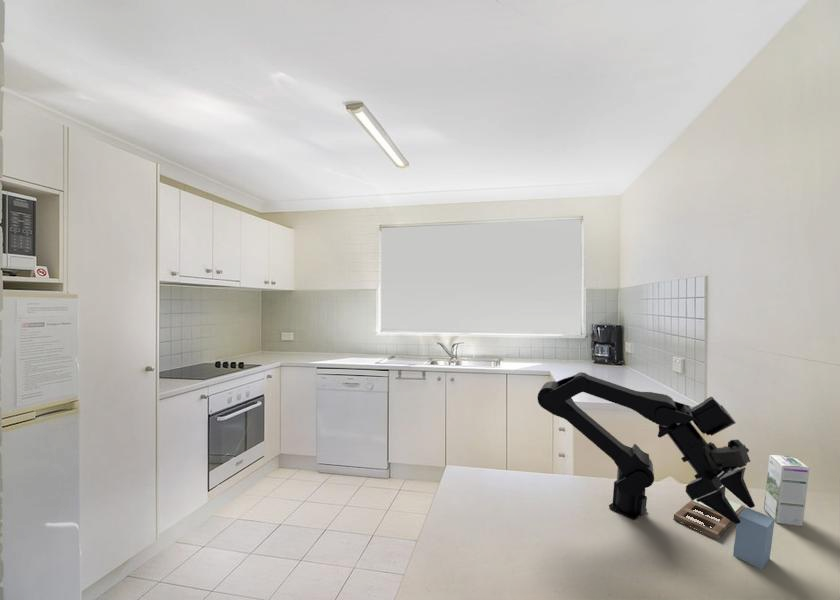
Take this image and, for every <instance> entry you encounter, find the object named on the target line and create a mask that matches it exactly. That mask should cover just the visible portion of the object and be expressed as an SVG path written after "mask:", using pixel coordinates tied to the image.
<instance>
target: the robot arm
mask: <svg viewBox="0 0 840 600" xmlns="http://www.w3.org/2000/svg"><path fill="white" fill-rule="evenodd" d="M581 393H584V394H588V395H591V396H594V397H596V398H599V399H602V400H605V401H607V402H611V403H613V404H617V405H619V406H622V407H625V408H628V409H631V410H633V411H634V412H636V413H637V414H638V415H640V416H642V417H643V418H644V419H646V420H648V421H651V422H652V423H655V425H658V433H657V437H658V438H663V437H665V436H666V435H668V437H669V438H670V439H671V441H672V442H673V444H674V445H675V447H676V449H678V450H679V452H680V453H681V454H682V456H683V457H681V458H680V459H681V460H682V462H683V463H686V462H688V463H689V465H690V467H691V468H692V469H693V470H694V471H695V473H696V474H695V475H693V477H694V478H695V479H694V480H691V481H690V482H689V483H688V484H687V485H686V486H685V493H686V495H688V498H689V499H691V500H694V499H696V501H697V502H701V503H703V504H705V505H707V506H708V507H710V508H712V509H713V510H715V511H716V512H718V513H720V514H721V515H723V516H724V517H726V518H727V519H729V520H730V521H732V522H733V523H732V524H735V525H737V524H738V523H740V522H741V521H740V519H739V518H738V516H737V514H736V512H735V511H734V509H733V508H732V506H731V505H730V503H729V501H728V500H727V499H728V498H727V497H726V489H727V490H728V491H729V492H731V494H733V495H734V496H735V497H736V498H737V499H738V500H739V501H741V502H742V503H743V504H744V505H746V507H747V508H750V509H752V508H755V507H756V505H755V502H754V500H753V498H752V496H751V494H750V491H749V489H748V486H747V485H746V482H745V479H744V478H745V477H744V476H745V471H746V466H747V464H748V463H751V459H750V456H749V452H750V449H749V448H748V447H746V445H745V444H743V443H742V442H741V441H740V440H739V439H731V440H729V441H728V442H727V446H726V445H725V446H723V447H717V446H716V445H715V443H713V442H711V441H710V442H707V441H706V440H705V438H703V435H705V434H706V436H711V437H712V436H714V435H716V434H718V433H720V432H721V431H723V430H726V429H727V428H729V427H731V426H733V425H735V424H736V421H735V420H734V418H733V417H732V416H731V414H730V413H729V412H728V411H727V409H725V407H724V406H723V405H722V404H720V403H719V402H718V401H717V400H716V399H715V398H714V397H713V396H709V397H708V398H706V399H704V401H702V402H701V403H698V404H697V405H695V406H694V407H692V408H691V406H690V405H688V404H685V403H683V402H678V401H675V400H674V399H673V398H672V397H671V396H669V395H667V394H664V393H658V392H652V391H639V390H635V389H631V388H629V387H625V386H622V385H619V384H616V383H613V382H610V381H607V380H604V379H601V378H598V377H596V376H592V375H589V374H588V373H586V372H582V371H581V372H577V373H576V374H574V375H571V376H568V377H565V378H562V379H560V380H557V381H556V380H555V381H547V382H545V383H544V384H543V386H542V387H541V388H540V390H539V391H538V393H537V403H538V404H539V406H540V407H541V408H542V409H543V410H546V412H549V413H550V414H552V415H554V416H556V417H558V418H561V419H564V420H565V421H567V422H568V423H569V424H571V426H572V427H574V428H575V429H576V430H577V431H579V432H580V433H581V434H582V435H584V437H585V438H587V440H589V441H590V442H591V443H593V444H594V445H595V446H596V447H597V448H598V449H600V450H601V451H602V452H603V453H604V454H606V455H607V457H609V458H611V460H612V461H613V462H614V463H615V465H616V466H617V471H616V472H617V474H616V480H615V481H614V482H613V491H612V492H613V494H612V503H610V504H609V505H608V508H609V509H611V510H613V511H614V512H617V513H619V514H621V515H623V516H625V517H627V518H629V519H631V520H633V521H634V520H637V519H638V518H640V517H642V515H644V514H645V513H646V512H647V511H648V509H647V501H648V498H647V495H646V488H647V489H648V488H649V487H651V486H652V485H653V484H654V483H655V482H654V481H655V473H654V464H653V461H652V460H651V458H650V454H649V453H647V452H645V451H643V450H642V449H641V448H640V447H639V446H638V445H637V444H636V443H634V444H633V445H632V446H628V445H625V444H623V443H622V442H621V441H620V440H619V439H617V438H616V437H615V436H614V435H612V433H610V432H609V431H608V430H606V428H604V427H603V426H601V424H599V422H597V421H595V419H593V417H591V416H590V415H589V414H588V413H586V412H585V411H584V410H583V409H582V408H580V407H579V406H578V405H577V404H576V402H575V401H574V400H573V397H575V396H577V395H578V394H581ZM692 422H693V423H692ZM693 424H694V425H695V426H694V425H693ZM699 431H700V432H701V433H702V434H703V435H701V433H700V432H699ZM691 500H690V501H691Z"/></svg>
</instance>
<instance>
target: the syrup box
mask: <svg viewBox="0 0 840 600" xmlns="http://www.w3.org/2000/svg"><path fill="white" fill-rule="evenodd" d="M768 456H769V458H768V464H767V474H766V475H767V476H766V485H765V494H764V505H763V510H764V511H765V512H766V513H767V514H768V516H770V517H772V518H775V521H774V523H778V524H781V525H788V526H789V525H790V526H799V527H803V526H804V519H805V511H806V510H805V509H806V503H807V502H806V501H807V494H808V493H807V492H808V486H809V485H808V484H809V478H810V477H809V476H810V467H809V466H807V465H806V464H805V463H803V462H802V461H800V460H799V459H798V458H797V457H795V456H791V455H783V454H769V455H768Z"/></svg>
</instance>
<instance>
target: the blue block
mask: <svg viewBox="0 0 840 600" xmlns="http://www.w3.org/2000/svg"><path fill="white" fill-rule="evenodd" d="M738 518H739V519H740V521H741V522H740V523H738V524H736V527H735V535H734V543H733V544H734V545H733V552H732V556H733V557H736V558H737V557H738V558H737V559H739V558H740V560H742V561H744V562H746V563H748V564H750V565H752V564H753V565H752V566H755V567H756V568H759V569H760V570H763V569H764V568H765V566H766V565H767V563H768V562H769V561H770V558H771V550H772V544H773V536H774V529H775V527H774V526H775V518H772V517H771V516H770V515H767V514H764V513H763V512H760V511H756V510H755V509H752V508H749V507H748V506H745V508H744V509H743V510H742V512H741V513H740V514H739V515H738Z"/></svg>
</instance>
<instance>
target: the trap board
mask: <svg viewBox="0 0 840 600" xmlns="http://www.w3.org/2000/svg"><path fill="white" fill-rule="evenodd" d="M727 500H728V501H729V503H730V505H731V506H732V508H733V509H734V511H735V512H736V514H737V516H738V515H739V514H740V513H741V512H742V510H743V509H744V508H745V507H746V506H745V504H744V505H743V504H741V503H738V502H736V501H733V500H730V499H729V498H727ZM695 509H696V510H698V511H701V512H703V514H704V515H702V514H700V513H698V512H695V511H693V510H695ZM687 515H688V516H690V517H693V518H694V519H697V520H699V521H701V522H703V523H704V525H705V526H703V524H702V525H701V524H699V523H697V522H694V521H692V520H690V519H688V518H686V516H687ZM705 515H709V516H710V517H711V516H712V517H715V518H717V519H720V521H719V522H718V521H716V520H714V519H711V518H709V517H707V516H705ZM674 519H676V520H678V521H680V522H682V523H681V524H683V523H684V524H683V525H685V524H686V525H685V526H687V525H688V526H687V527H689V526H691V527H693V528H695V529H697V530H696V531H698V530H699V531H698V532H700V531H701V532H700V533H702V532H703V533H702V534H704V533H705V534H704V535H706V534H707V535H706V536H708V535H709V537H710V536H711V538H713V539H715V540H718V539H717V538H718V537H719V536H720V535H721V534H722V535H723V534H724V533H725V532H726V530H728V529H729V527H731V525H732V524H734V523H733V522H732V521H730V520H729V519H727V518H726V517H724V516H723V515H721V514H720V513H718V512H716V511H715V510H713V509H712V508H710V507H708V506H707V505H705V504H703V503H701V502H697V501H696V499H694V500H690V501H688V502H687V503H686V504H685V505H684V506H682V507H681V508H680V509H679V510H678V511H677V512H676V513H674V514H673V520H674ZM676 520H675V521H676ZM678 521H677V522H678ZM680 522H679V523H680ZM710 526H711V527H712V528H710ZM691 527H690V528H691ZM693 528H692V529H693ZM695 529H694V530H695ZM722 535H721V536H722ZM721 536H720V537H721ZM720 537H719V538H720Z"/></svg>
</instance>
